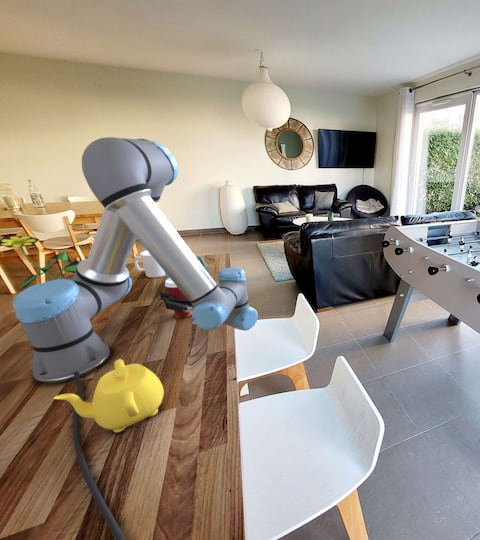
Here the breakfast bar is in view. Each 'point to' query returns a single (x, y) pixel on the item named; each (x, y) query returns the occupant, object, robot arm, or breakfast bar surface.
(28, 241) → the potted plant
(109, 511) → the robot arm
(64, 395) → the teapot
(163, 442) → the breakfast bar surface
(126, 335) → the breakfast bar surface
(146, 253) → the mug
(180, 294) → the paper cup
